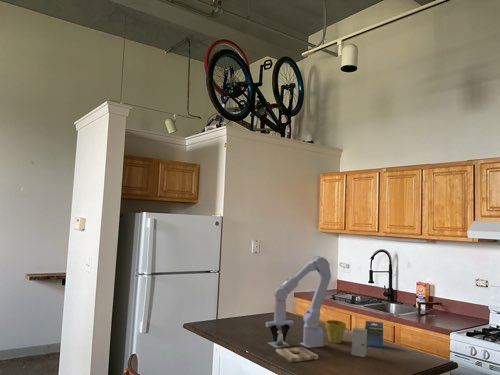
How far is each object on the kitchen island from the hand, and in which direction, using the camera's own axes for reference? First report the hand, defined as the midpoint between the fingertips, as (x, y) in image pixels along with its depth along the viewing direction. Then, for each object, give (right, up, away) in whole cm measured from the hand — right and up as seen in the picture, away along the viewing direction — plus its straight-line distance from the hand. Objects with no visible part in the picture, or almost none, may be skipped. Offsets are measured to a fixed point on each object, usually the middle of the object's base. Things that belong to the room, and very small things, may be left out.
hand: (279, 340), depth 206 cm
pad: (0, -2, 0) cm, 2 cm away
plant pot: (+30, -5, +11) cm, 32 cm away
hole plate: (+7, -1, -16) cm, 17 cm away
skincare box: (+37, -3, -11) cm, 38 cm away
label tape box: (+48, -5, +6) cm, 49 cm away
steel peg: (0, -2, 0) cm, 2 cm away
